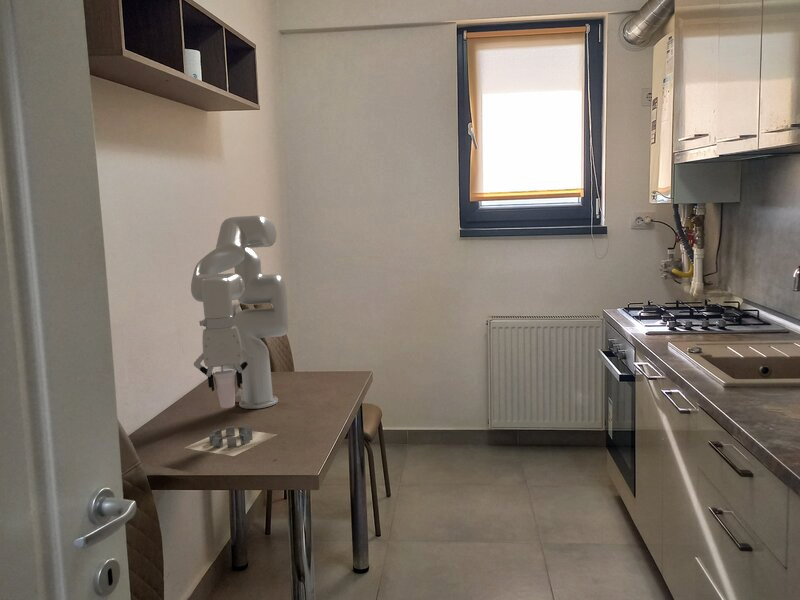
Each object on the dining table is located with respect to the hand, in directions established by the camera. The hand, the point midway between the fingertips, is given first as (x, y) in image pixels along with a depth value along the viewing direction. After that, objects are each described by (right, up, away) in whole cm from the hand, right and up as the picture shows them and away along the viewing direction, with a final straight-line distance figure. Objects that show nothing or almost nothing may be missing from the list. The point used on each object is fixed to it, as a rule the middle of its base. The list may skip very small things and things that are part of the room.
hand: (226, 387), depth 203 cm
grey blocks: (+1, -15, +2) cm, 15 cm away
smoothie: (0, -5, +1) cm, 5 cm away
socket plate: (+1, -16, +2) cm, 17 cm away
